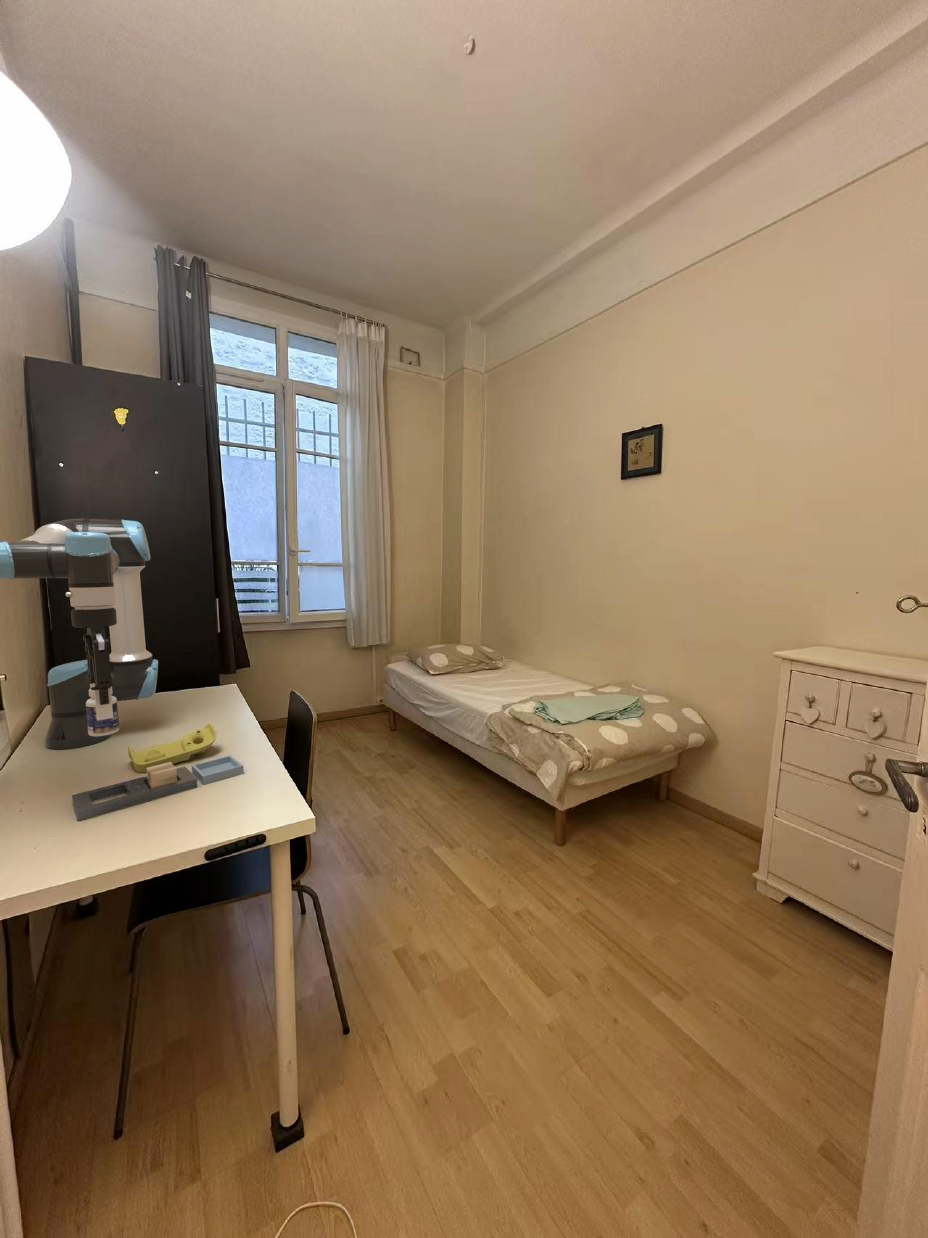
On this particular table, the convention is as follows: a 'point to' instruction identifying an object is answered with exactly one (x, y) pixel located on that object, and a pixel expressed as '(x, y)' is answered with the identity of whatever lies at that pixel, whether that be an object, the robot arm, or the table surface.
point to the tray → (217, 769)
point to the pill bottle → (104, 725)
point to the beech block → (161, 775)
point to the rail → (128, 794)
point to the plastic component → (174, 749)
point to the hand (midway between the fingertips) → (102, 715)
